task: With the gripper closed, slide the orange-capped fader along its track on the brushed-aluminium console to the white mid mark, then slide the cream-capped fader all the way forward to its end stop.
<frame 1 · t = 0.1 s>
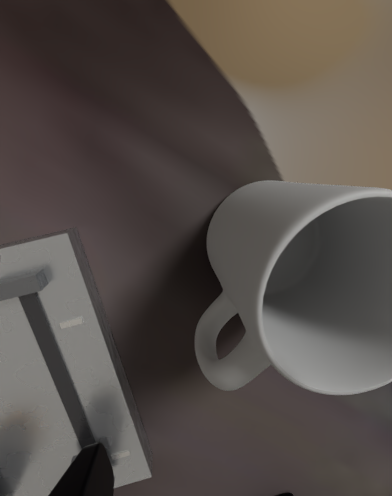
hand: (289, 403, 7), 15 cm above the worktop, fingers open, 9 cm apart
console: (19, 380, 22), on the worktop
mug: (245, 256, 22), on the worktop
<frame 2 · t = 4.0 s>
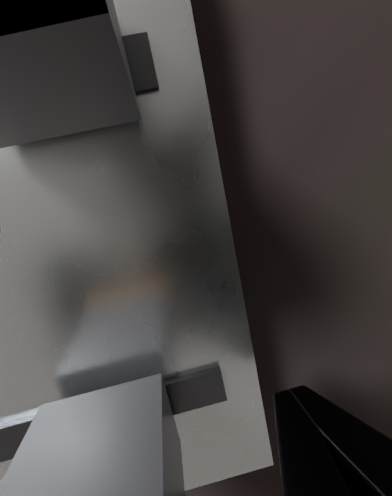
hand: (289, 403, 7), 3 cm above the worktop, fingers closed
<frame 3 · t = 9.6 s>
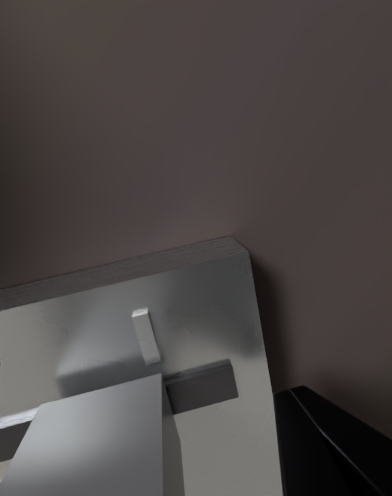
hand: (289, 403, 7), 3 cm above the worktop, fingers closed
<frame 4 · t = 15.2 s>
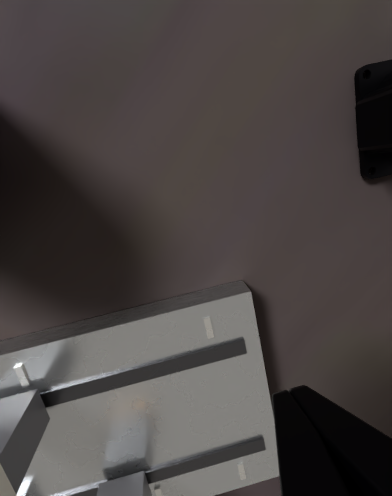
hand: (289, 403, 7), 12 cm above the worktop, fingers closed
console: (125, 409, 21), on the worktop
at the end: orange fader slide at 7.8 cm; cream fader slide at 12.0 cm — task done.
